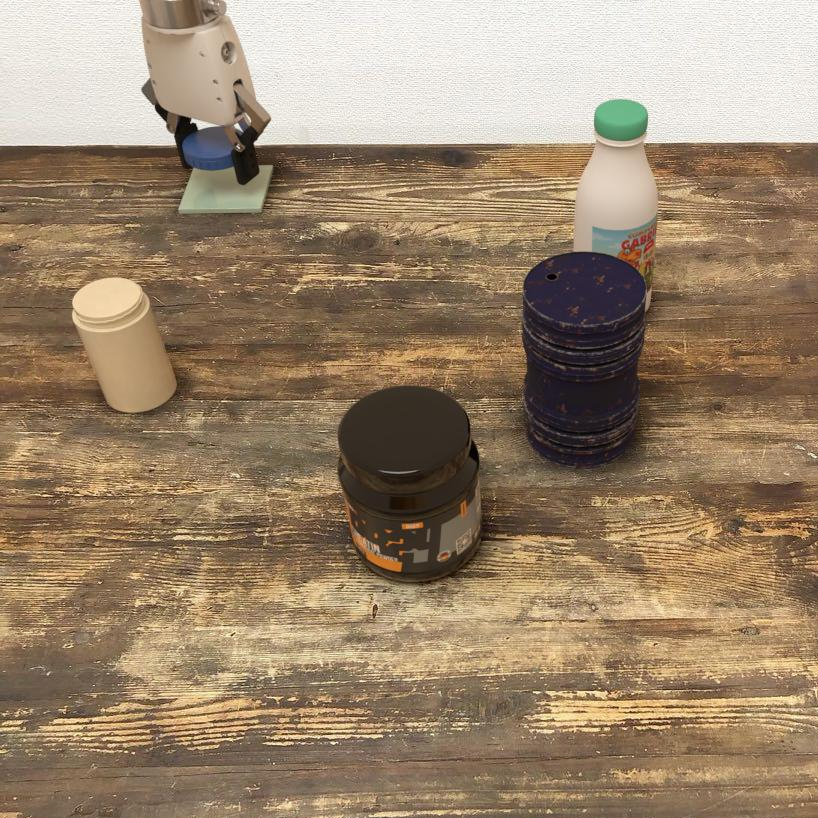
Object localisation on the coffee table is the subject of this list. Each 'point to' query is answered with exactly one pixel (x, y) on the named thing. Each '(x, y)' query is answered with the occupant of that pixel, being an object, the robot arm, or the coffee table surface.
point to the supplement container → (410, 482)
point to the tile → (225, 192)
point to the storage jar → (582, 356)
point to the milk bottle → (619, 191)
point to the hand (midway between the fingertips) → (221, 170)
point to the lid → (209, 149)
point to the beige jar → (124, 344)
